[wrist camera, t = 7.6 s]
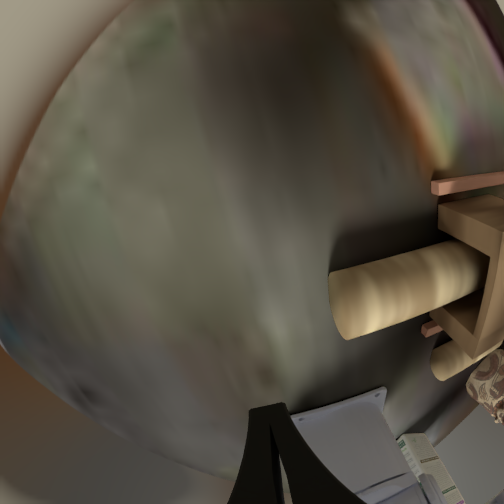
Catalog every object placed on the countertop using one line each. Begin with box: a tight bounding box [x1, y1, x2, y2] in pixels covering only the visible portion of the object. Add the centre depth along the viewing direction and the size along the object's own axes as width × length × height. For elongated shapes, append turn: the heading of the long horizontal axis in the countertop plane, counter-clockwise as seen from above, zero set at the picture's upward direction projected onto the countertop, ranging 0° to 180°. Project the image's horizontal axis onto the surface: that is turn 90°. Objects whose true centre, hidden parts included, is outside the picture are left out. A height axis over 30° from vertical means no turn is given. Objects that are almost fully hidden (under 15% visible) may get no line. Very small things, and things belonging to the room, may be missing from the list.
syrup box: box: [396, 433, 466, 504], centre depth 22 cm, size 6×6×14 cm
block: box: [429, 194, 504, 360], centre depth 15 cm, size 6×9×6 cm, turn 11°
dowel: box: [328, 238, 490, 340], centre depth 16 cm, size 12×4×4 cm, turn 101°
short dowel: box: [430, 340, 503, 381], centre depth 20 cm, size 8×3×3 cm
